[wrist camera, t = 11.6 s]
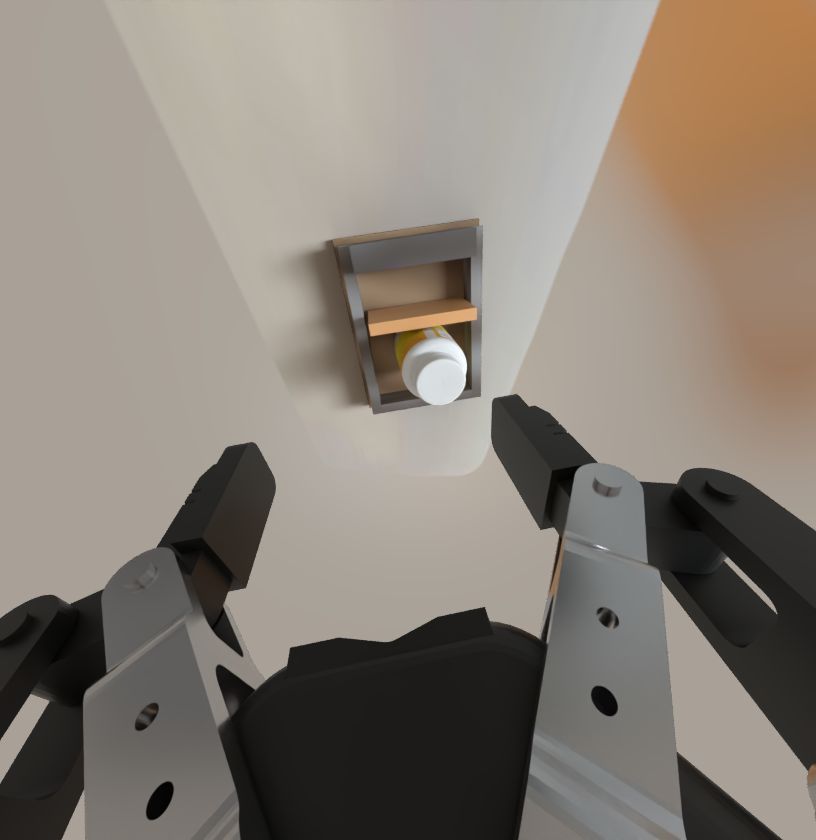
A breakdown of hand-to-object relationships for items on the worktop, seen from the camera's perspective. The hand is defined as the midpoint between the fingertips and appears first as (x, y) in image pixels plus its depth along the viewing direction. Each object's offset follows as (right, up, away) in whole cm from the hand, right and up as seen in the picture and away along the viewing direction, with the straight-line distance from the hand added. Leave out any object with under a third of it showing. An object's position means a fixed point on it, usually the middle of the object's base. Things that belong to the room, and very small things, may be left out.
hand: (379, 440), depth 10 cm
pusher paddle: (+2, +12, +19) cm, 23 cm away
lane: (+2, +10, +22) cm, 24 cm away
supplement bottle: (+2, +9, +22) cm, 24 cm away
